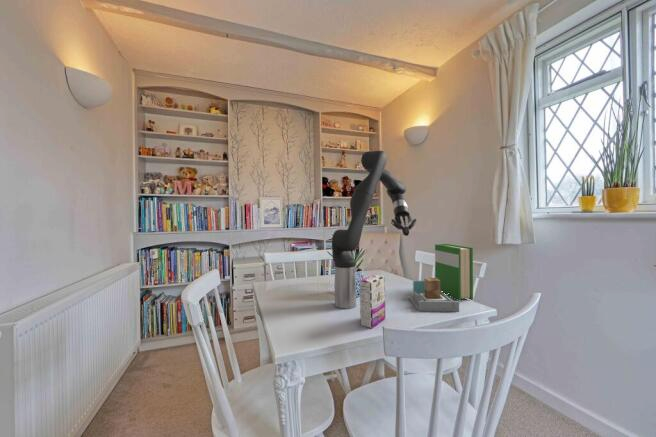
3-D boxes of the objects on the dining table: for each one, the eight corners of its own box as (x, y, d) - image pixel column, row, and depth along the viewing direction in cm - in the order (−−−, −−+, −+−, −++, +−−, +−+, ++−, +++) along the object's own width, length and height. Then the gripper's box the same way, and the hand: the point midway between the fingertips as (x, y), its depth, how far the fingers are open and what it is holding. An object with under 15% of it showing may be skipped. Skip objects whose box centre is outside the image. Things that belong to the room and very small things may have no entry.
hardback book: (473, 299, 121) (472, 247, 121) (459, 300, 120) (458, 248, 119) (447, 289, 138) (447, 243, 138) (435, 290, 137) (435, 244, 137)
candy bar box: (373, 315, 103) (373, 274, 102) (385, 318, 100) (385, 275, 99) (359, 325, 94) (358, 279, 94) (371, 329, 91) (371, 281, 91)
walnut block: (428, 301, 112) (428, 280, 112) (424, 297, 117) (424, 277, 117) (440, 301, 112) (440, 280, 112) (436, 297, 117) (435, 277, 117)
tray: (422, 305, 109) (422, 289, 109) (413, 295, 124) (413, 280, 124) (451, 306, 109) (451, 289, 108) (439, 295, 123) (439, 280, 123)
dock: (418, 310, 107) (418, 301, 107) (408, 297, 124) (408, 289, 124) (459, 311, 106) (458, 301, 106) (443, 298, 123) (443, 290, 123)
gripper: (389, 204, 137) (393, 229, 125) (414, 204, 136) (422, 229, 124) (387, 215, 142) (391, 239, 130) (412, 214, 141) (418, 239, 129)
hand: (406, 234), depth 127 cm, fingers closed
